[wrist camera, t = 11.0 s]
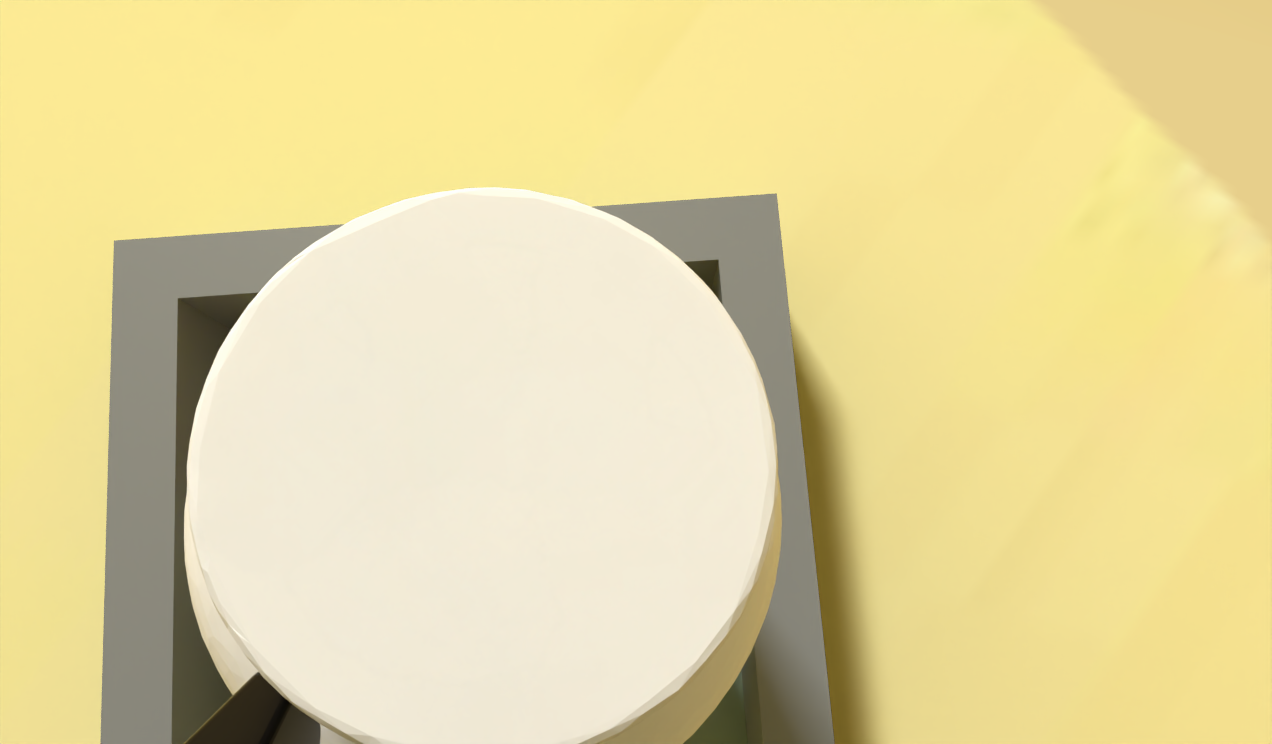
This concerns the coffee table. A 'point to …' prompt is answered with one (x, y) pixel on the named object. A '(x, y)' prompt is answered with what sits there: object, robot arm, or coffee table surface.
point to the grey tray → (164, 414)
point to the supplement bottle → (485, 481)
